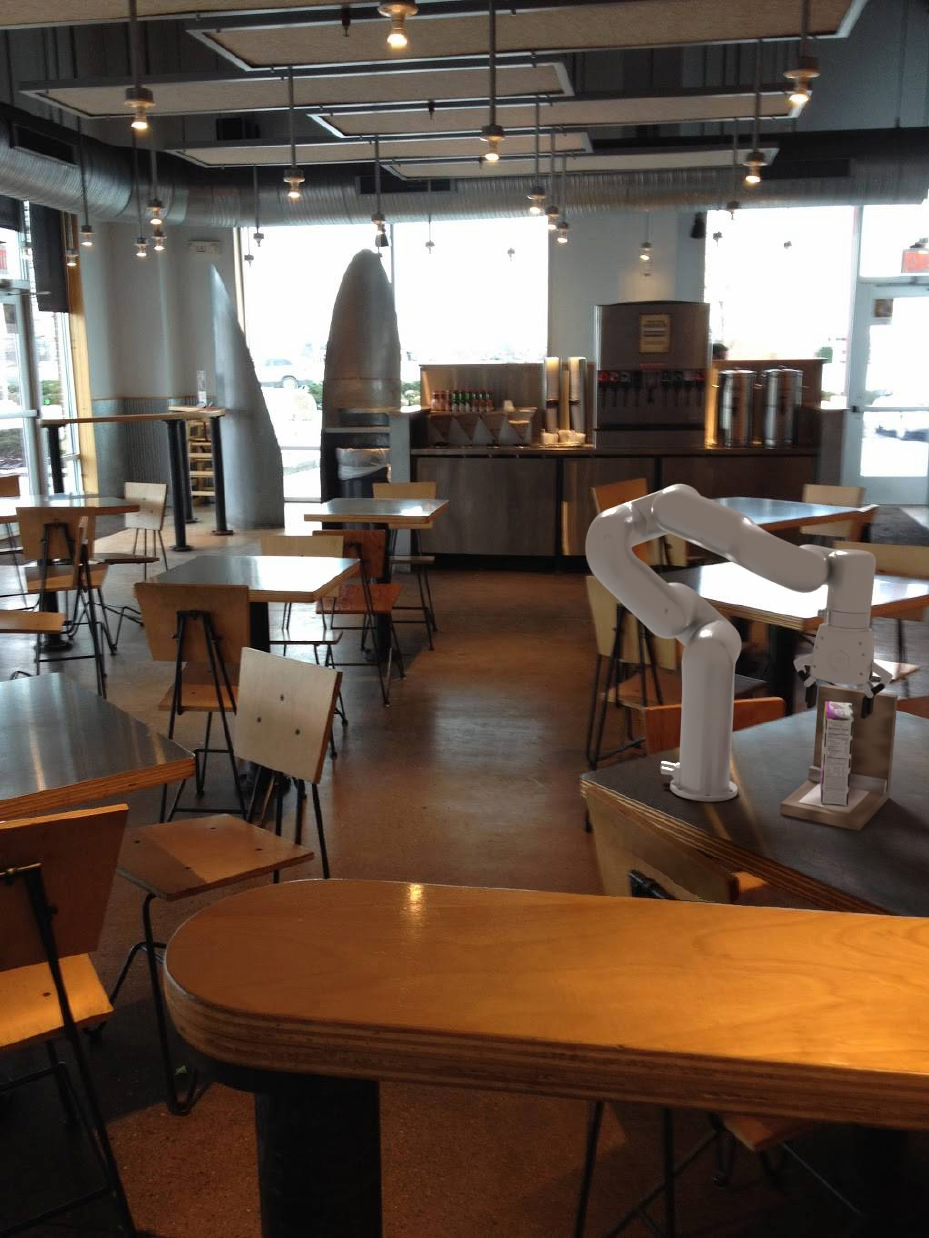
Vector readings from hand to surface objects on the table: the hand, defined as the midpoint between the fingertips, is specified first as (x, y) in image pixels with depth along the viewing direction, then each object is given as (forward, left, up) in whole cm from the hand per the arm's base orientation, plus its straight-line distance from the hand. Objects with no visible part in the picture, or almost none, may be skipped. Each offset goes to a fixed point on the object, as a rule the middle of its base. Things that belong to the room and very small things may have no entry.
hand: (837, 712), depth 200 cm
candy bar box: (0, 0, -16) cm, 16 cm away
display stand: (+1, +1, -18) cm, 18 cm away
